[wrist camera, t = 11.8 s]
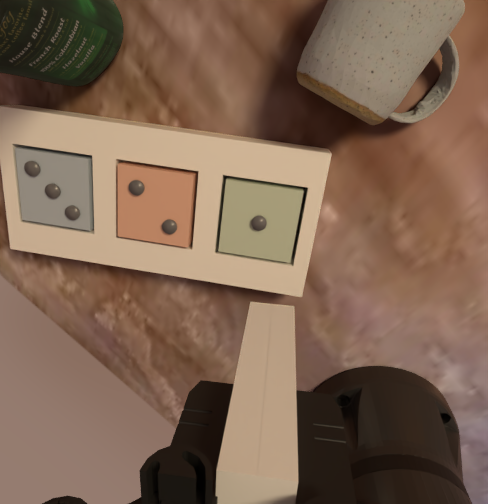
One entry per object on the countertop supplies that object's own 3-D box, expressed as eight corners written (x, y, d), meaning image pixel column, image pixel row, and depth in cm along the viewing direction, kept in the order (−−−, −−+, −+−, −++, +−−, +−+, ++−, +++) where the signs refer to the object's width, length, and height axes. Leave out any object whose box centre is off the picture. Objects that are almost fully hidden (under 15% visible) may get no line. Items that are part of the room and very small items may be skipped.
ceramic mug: (287, 82, 29) (288, 78, 22) (346, -36, 26) (369, -84, 19) (406, 147, 30) (443, 163, 23) (476, 41, 27) (543, 22, 20)
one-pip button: (290, 249, 34) (290, 264, 31) (224, 239, 35) (217, 252, 32) (302, 183, 32) (303, 192, 29) (231, 172, 32) (225, 180, 29)
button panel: (300, 281, 35) (301, 297, 33) (31, 237, 37) (10, 248, 34) (328, 148, 31) (331, 153, 28) (19, 104, 32) (-7, 105, 29)
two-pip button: (196, 235, 34) (187, 248, 31) (131, 225, 35) (116, 237, 32) (201, 168, 32) (192, 176, 29) (132, 158, 32) (116, 164, 30)
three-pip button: (105, 220, 35) (88, 231, 32) (43, 210, 36) (20, 220, 33) (105, 153, 33) (86, 159, 30) (38, 143, 33) (12, 148, 30)
